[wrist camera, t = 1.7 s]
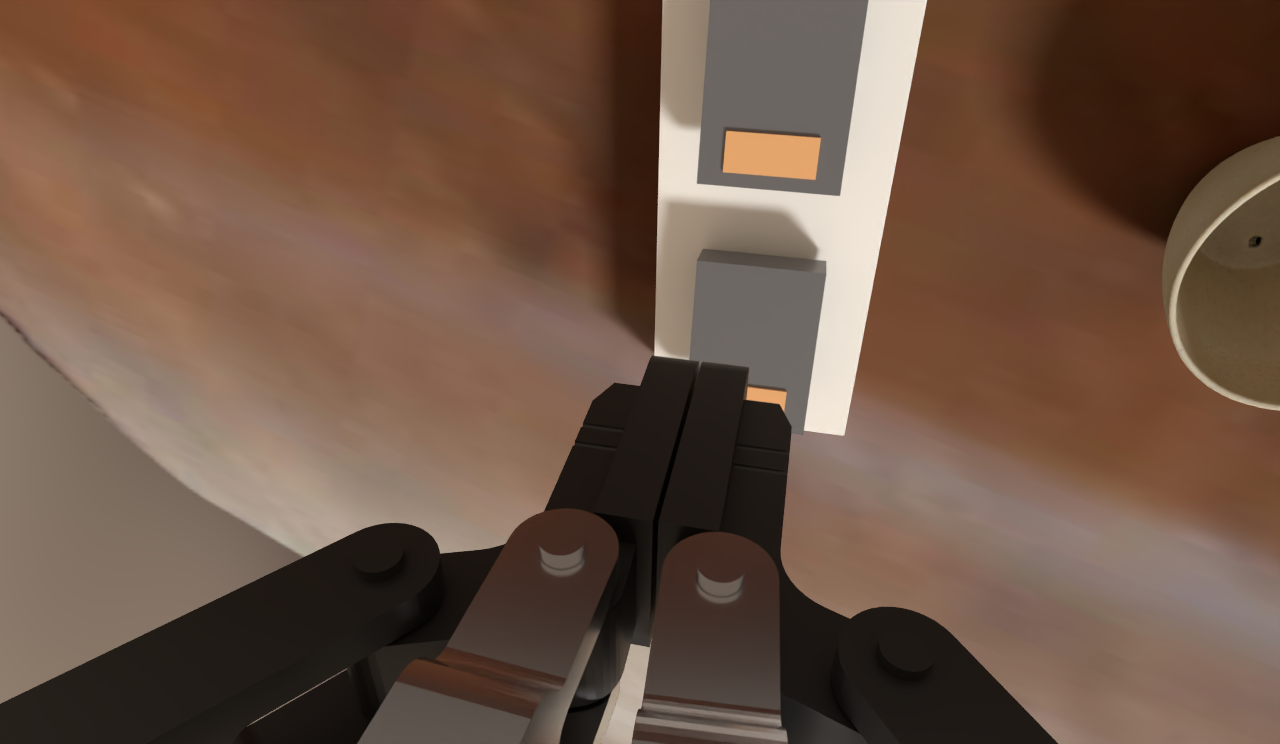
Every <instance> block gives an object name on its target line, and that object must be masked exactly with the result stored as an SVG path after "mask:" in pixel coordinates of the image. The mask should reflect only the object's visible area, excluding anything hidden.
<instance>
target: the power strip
mask: <svg viewBox="0 0 1280 744" xmlns="http://www.w3.org/2000/svg"><path fill="white" fill-rule="evenodd" d="M926 2H927V0H869V1H868V8H867V14H866V21H865V28H864V35H863V42H862V49H861V56H860V62H859V69H858V76H857V83H856V90H855V97H854V104H853V110H852V117H851V124H850V131H849V138H848V145H847V152H846V158H845V165H844V172H843V179H842V186H841V193H840V196H832V195H821V194H809V193H798V192H786V191H774V190H763V189H751V188H740V187H728V186H717V185H705V184H697V172H698V159H699V145H700V131H701V118H702V104H703V90H704V77H705V63H706V49H707V36H708V22H709V8H710V0H663V7H662V50H661V93H660V136H659V180H658V223H657V266H656V310H655V353H654V356H661V357H669V358H678V359H686V360H689V357H690V344H691V331H692V318H693V305H694V292H695V279H696V265H697V259H698V257H699V255H700V253H701V252H702V250H703V249H712V250H722V251H732V252H742V253H752V254H762V255H772V256H782V257H792V258H802V259H812V260H822V261H826V280H825V287H824V294H823V301H822V308H821V315H820V322H819V329H818V336H817V343H816V350H815V356H814V363H813V370H812V377H811V384H810V391H809V398H808V405H807V412H806V419H805V426H804V430H805V431H812V432H820V433H827V434H835V435H842V436H844V434H845V428H846V423H847V418H848V413H849V407H850V402H851V397H852V392H853V386H854V381H855V376H856V370H857V365H858V360H859V355H860V349H861V344H862V339H863V334H864V328H865V323H866V318H867V313H868V307H869V302H870V297H871V292H872V286H873V281H874V276H875V271H876V265H877V260H878V255H879V250H880V244H881V239H882V234H883V228H884V223H885V218H886V213H887V207H888V202H889V197H890V192H891V186H892V181H893V176H894V171H895V165H896V160H897V155H898V150H899V144H900V139H901V134H902V129H903V123H904V118H905V113H906V108H907V102H908V97H909V92H910V87H911V81H912V76H913V71H914V65H915V60H916V55H917V50H918V44H919V39H920V34H921V29H922V23H923V18H924V13H925V8H926Z"/></svg>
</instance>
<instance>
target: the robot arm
mask: <svg viewBox="0 0 1280 744" xmlns="http://www.w3.org/2000/svg"><path fill="white" fill-rule="evenodd" d="M748 379H749V367H744V366H736V365H728V364H720V363H712V362H704V361H702V363H701V366H699V361H694V360H686V359H678V358H669V357H661V356H652V357H651V358H650V361H649V363H648V366H647V369H646V372H645V374H644V377H643V380H642V382H641V385H640V386H635V385H627V384H619V383H614V384H613V385H611V386H610V387H609V388H608V389H606V390H605V391H604V392H603V393H602V394H600V395H599V396H598V397H597V398H595V399H594V400H593V401H592V404H591V406H590V408H589V410H588V413H587V415H586V417H585V420H584V422H583V427H581V429H580V431H579V433H578V436H577V438H576V440H575V445H574V446H573V447H572V449H571V451H570V454H569V456H568V458H567V461H566V463H565V465H564V467H563V470H562V472H561V474H560V476H559V479H558V481H557V483H556V486H555V488H554V490H553V492H552V495H551V497H550V499H549V502H548V504H547V506H546V508H545V511H544V512H542V513H539V514H536V515H534V516H532V517H530V518H528V519H527V520H525V521H524V522H523V523H521V524H520V525H519V526H518V527H517V528H516V529H515V530H514V532H513V533H512V534H511V536H510V537H509V539H508V541H507V543H506V544H504V545H501V546H497V547H494V548H489V549H483V550H474V551H463V552H453V553H443V554H440V551H439V548H438V545H437V543H436V541H435V540H434V538H433V537H432V536H431V535H430V534H429V533H428V532H426V531H424V530H423V529H421V528H418V527H416V526H413V525H409V524H403V523H385V524H380V525H374V526H371V527H368V528H365V529H362V530H360V531H357V532H355V533H353V534H351V535H349V536H347V537H345V538H343V539H341V540H339V541H336V542H334V543H332V544H330V545H328V546H326V547H324V548H322V549H320V550H318V551H316V552H314V553H312V554H310V555H307V556H305V557H303V558H301V559H299V560H297V561H295V562H293V563H291V564H289V565H287V566H285V567H283V568H281V569H278V570H277V571H274V572H272V573H270V574H268V575H266V576H264V577H262V578H260V579H258V580H256V581H254V582H252V583H250V584H247V585H245V586H243V587H241V588H239V589H237V590H235V591H233V592H231V593H229V594H227V595H225V596H223V597H221V598H218V599H216V600H214V601H212V602H210V603H208V604H206V605H204V606H202V607H200V608H198V609H196V610H194V611H192V612H189V613H187V614H185V615H183V616H181V617H179V618H177V619H175V620H173V621H171V622H169V623H167V624H165V625H163V626H161V627H159V628H156V629H154V630H152V631H150V632H148V633H146V634H144V635H142V636H140V637H138V638H136V639H134V640H132V641H130V642H127V643H126V644H123V645H121V646H119V647H117V648H115V649H113V650H111V651H109V652H107V653H105V654H103V655H100V656H98V657H97V658H94V659H92V660H90V661H88V662H86V663H84V664H82V665H80V666H78V667H76V668H74V669H72V670H70V671H67V672H65V673H64V674H61V675H59V676H57V677H55V678H53V679H51V680H49V681H47V682H45V683H43V684H40V685H39V686H36V687H34V688H32V689H30V690H28V691H26V692H24V693H22V694H20V695H18V696H16V697H14V698H11V699H9V700H8V701H5V702H3V703H1V704H0V744H602V742H603V739H604V737H605V734H606V731H607V728H608V725H609V722H610V720H611V717H612V714H613V711H614V708H615V705H616V703H617V700H618V696H619V692H620V679H621V676H622V674H623V671H624V667H625V663H626V660H627V656H628V652H629V648H630V644H635V645H641V646H646V647H650V643H651V648H650V655H649V662H648V669H647V676H646V682H645V689H644V696H643V702H642V707H641V709H638V712H637V716H636V720H635V726H634V731H633V738H632V744H1058V743H1057V742H1056V741H1055V740H1054V739H1053V738H1052V737H1051V736H1050V735H1049V734H1048V733H1047V732H1046V731H1045V730H1044V729H1043V728H1042V727H1041V726H1040V724H1039V723H1038V722H1037V721H1036V720H1035V719H1034V718H1033V717H1032V716H1031V715H1030V714H1029V713H1028V712H1027V711H1026V710H1025V709H1024V708H1023V707H1022V706H1021V705H1020V704H1019V703H1018V702H1017V701H1016V700H1015V699H1014V698H1013V697H1012V696H1011V695H1010V694H1009V693H1008V692H1007V691H1006V689H1005V688H1004V687H1003V686H1002V685H1001V684H1000V683H999V682H998V681H997V680H996V679H995V678H994V677H993V676H992V675H991V674H990V673H989V672H988V671H987V670H986V669H985V668H984V667H983V666H982V665H981V664H980V663H979V662H978V661H977V660H976V659H975V658H974V657H973V655H972V654H971V653H970V652H969V651H968V650H967V649H966V648H965V647H964V646H963V645H962V644H961V643H960V642H959V641H958V640H957V639H956V638H955V637H954V636H953V635H952V634H951V633H950V632H949V631H948V630H947V629H945V628H944V627H943V626H941V625H940V624H939V623H937V622H936V621H934V620H932V619H930V618H929V617H927V616H925V615H922V614H920V613H917V612H915V611H912V610H908V609H904V608H897V607H877V608H871V609H868V610H865V611H862V612H860V613H859V614H857V615H855V616H854V617H852V618H851V619H849V618H847V617H845V616H843V615H840V614H838V613H836V612H834V611H831V610H829V609H827V608H825V607H823V606H821V605H819V604H817V603H815V602H814V601H812V600H811V599H809V598H808V597H807V596H805V595H804V594H803V593H802V592H801V591H800V590H798V589H797V588H796V586H795V585H794V584H793V583H792V582H791V580H790V579H789V577H788V576H787V574H786V572H785V570H784V567H783V565H782V561H781V550H780V549H781V538H782V527H783V516H784V506H785V495H786V484H787V473H788V463H789V452H790V441H791V430H792V426H791V424H790V423H789V421H788V419H787V417H786V415H785V413H784V411H783V409H782V407H781V406H780V404H776V403H768V402H760V401H752V400H746V399H747V389H748ZM651 639H652V641H651ZM346 668H347V670H345V671H344V672H342V673H340V674H339V675H337V676H335V677H333V678H332V679H330V680H328V681H327V682H325V683H323V684H321V685H319V686H318V687H316V688H314V689H312V690H311V691H309V692H307V693H305V694H304V695H302V696H300V697H298V698H297V699H295V700H293V701H291V702H290V703H288V704H286V705H284V706H283V707H281V708H279V709H278V710H276V711H274V712H272V713H271V714H269V715H267V716H265V717H264V718H262V719H260V720H258V721H257V722H255V723H253V724H251V723H252V722H254V721H255V720H257V719H259V718H260V717H262V716H264V715H266V714H268V713H269V712H271V711H273V710H274V709H276V708H278V707H279V706H281V705H283V704H285V703H287V702H288V701H290V700H292V699H294V698H295V697H297V696H299V695H301V694H302V693H304V692H306V691H308V690H309V689H311V688H313V687H315V686H316V685H318V684H320V683H322V682H323V681H325V680H327V679H328V678H330V677H332V676H334V675H336V674H337V673H339V672H341V671H342V670H344V669H346ZM249 724H251V725H249ZM248 725H249V726H248ZM247 726H248V727H247Z"/></svg>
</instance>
